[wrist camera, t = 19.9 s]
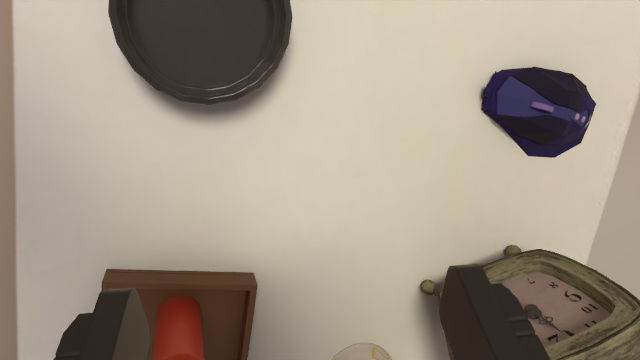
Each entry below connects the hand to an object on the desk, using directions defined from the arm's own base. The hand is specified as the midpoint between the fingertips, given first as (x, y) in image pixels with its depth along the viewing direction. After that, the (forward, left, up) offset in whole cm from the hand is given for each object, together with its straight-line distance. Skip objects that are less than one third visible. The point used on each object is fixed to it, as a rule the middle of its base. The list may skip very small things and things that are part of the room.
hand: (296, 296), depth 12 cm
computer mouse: (+29, -15, -32) cm, 46 cm away
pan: (+3, +8, -31) cm, 33 cm away
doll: (-12, -14, -31) cm, 36 cm away
